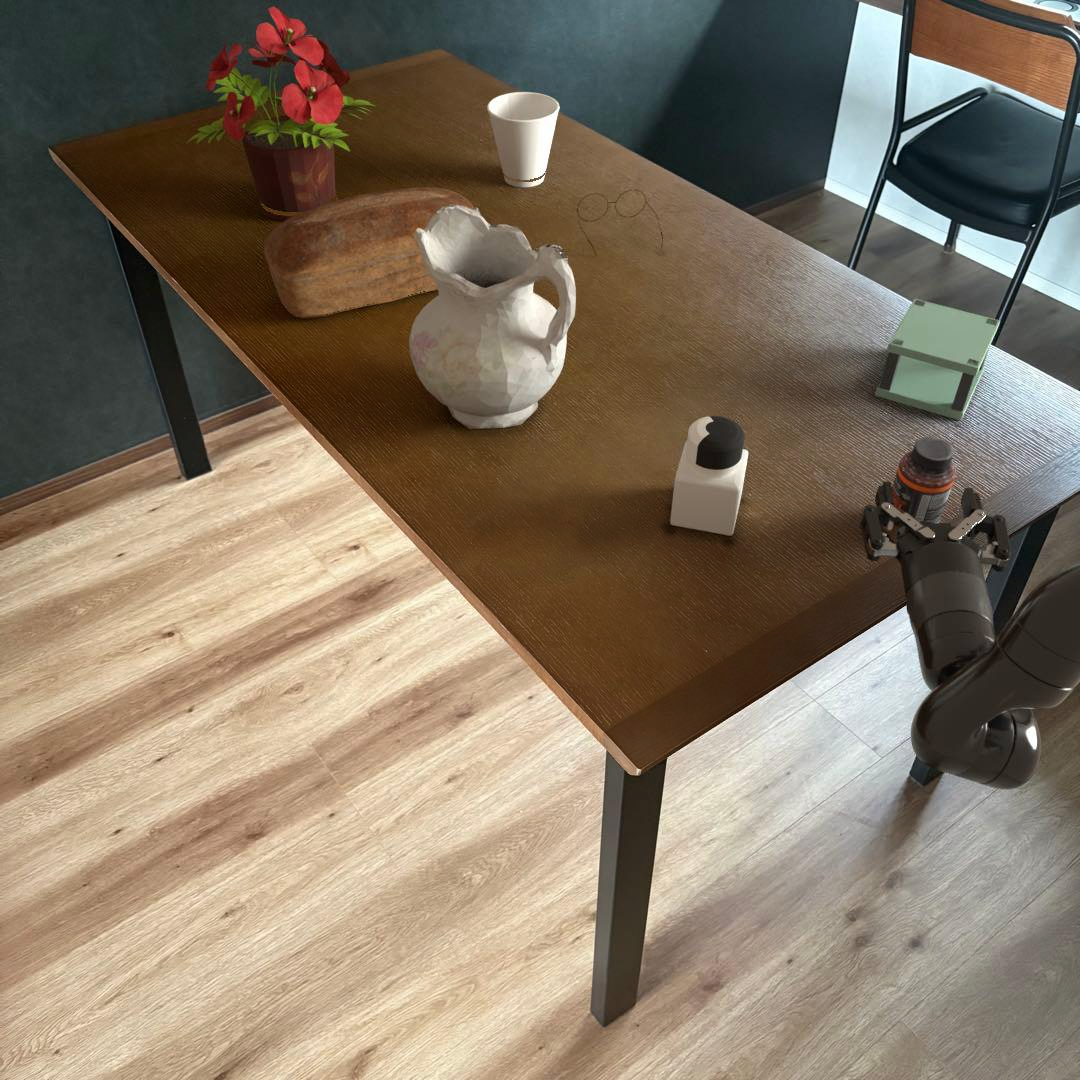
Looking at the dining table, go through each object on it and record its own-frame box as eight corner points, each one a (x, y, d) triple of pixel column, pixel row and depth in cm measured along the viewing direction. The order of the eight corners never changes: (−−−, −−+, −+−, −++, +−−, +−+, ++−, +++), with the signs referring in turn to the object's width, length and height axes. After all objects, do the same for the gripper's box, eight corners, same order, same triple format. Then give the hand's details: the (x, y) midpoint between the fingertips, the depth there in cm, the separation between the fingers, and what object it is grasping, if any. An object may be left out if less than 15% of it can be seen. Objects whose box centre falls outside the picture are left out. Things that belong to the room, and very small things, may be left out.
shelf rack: (982, 372, 143) (1000, 320, 137) (960, 421, 136) (978, 368, 130) (900, 349, 147) (914, 298, 141) (874, 395, 139) (888, 343, 134)
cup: (509, 200, 178) (507, 126, 170) (477, 172, 186) (474, 100, 177) (571, 184, 183) (573, 111, 174) (538, 157, 190) (537, 86, 181)
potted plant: (284, 258, 165) (246, 56, 144) (185, 201, 179) (137, 9, 158) (427, 193, 181) (411, 1, 160) (326, 145, 194) (299, -37, 173)
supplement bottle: (872, 513, 123) (894, 435, 115) (918, 502, 125) (943, 424, 117) (899, 548, 119) (925, 469, 111) (947, 536, 120) (975, 458, 113)
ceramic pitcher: (601, 389, 142) (613, 206, 127) (553, 470, 128) (558, 276, 112) (451, 358, 148) (443, 180, 132) (388, 433, 134) (371, 243, 118)
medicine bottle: (741, 496, 125) (755, 414, 117) (732, 537, 121) (746, 454, 112) (680, 486, 127) (689, 403, 119) (669, 526, 122) (678, 443, 114)
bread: (492, 284, 160) (489, 198, 150) (288, 332, 150) (271, 244, 141) (462, 247, 167) (457, 163, 158) (267, 291, 158) (249, 205, 149)
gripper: (1035, 579, 102) (1003, 468, 113) (880, 567, 103) (865, 458, 114) (1011, 632, 107) (983, 520, 118) (864, 619, 108) (851, 510, 120)
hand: (925, 490), depth 116 cm, fingers open, 8 cm apart
